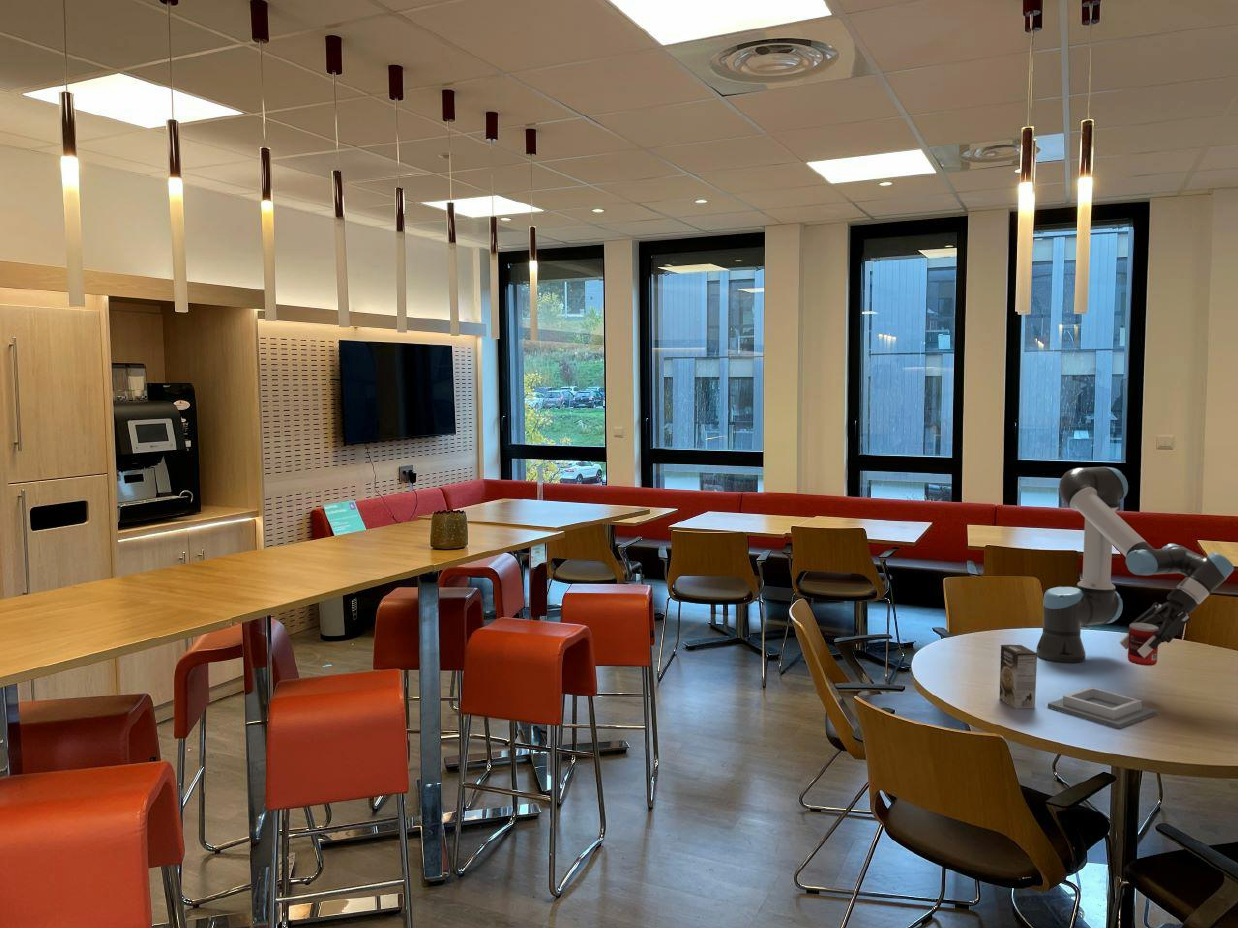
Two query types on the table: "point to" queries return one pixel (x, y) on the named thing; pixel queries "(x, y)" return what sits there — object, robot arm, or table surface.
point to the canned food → (1141, 643)
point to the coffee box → (1018, 676)
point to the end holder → (1103, 707)
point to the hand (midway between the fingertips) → (1131, 650)
